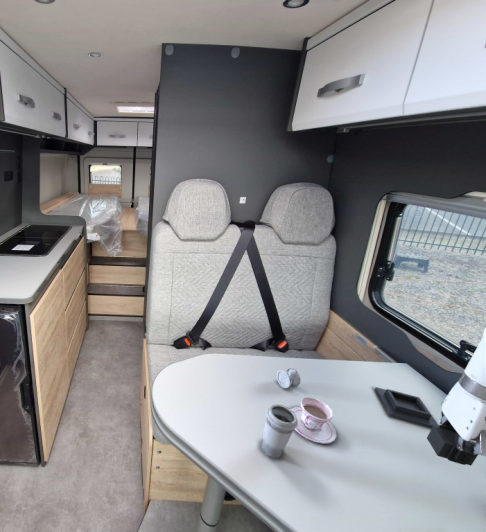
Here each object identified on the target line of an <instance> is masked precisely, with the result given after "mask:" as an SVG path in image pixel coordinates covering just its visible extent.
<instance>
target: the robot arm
mask: <svg viewBox="0 0 486 532" xmlns="http://www.w3.org/2000/svg"><path fill="white" fill-rule="evenodd" d="M440 407H441V412H440V414H441V418H440V419H439V420H438V421H439V423H438V425H439V428H443V429H447V430H450V431H454V432H458V434H459V435H460V436H459V440H458V443H457V446H455V445H454V446H453V447H452V449H451V451H450V452H449V454H448V456H447V458H446V459H447V460H448V461H450V462H452V463H456V464H459V465H463V466H466V465H467V462H468V461H469V459H470V458H471V456H472V455H473V454H475V455H476V454H478V456H479V455H480V456H483V457H486V328H485V329H484V330H483V333H482V337H481V340H480V341H479V343H478V345H477V346H476V349H475V350H474V353H473V354H472V356H471V358H470V360H469V361H468V363H467V365H466V367H465V368H464V370H463V372H462V374H461V376H460V378H459V379H458V381H457V382H456V383H455V384H454V385H453V386H452V388H451V389H450V391H449V392H448V394H447V395H446V397H445V398H444V400H443V401H441V402H440ZM466 441H469V442H471V446H468V445H465V443H466Z"/></svg>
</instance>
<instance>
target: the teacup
mask: <svg viewBox="0 0 486 532" xmlns="http://www.w3.org/2000/svg"><path fill="white" fill-rule="evenodd" d="M290 409H291V410H292V411H293V412H294V413H295V415H296V417H297V421H298V425H297V427H296V428H295V429H294V430H295V432H296V433H298V434H299V435H300V436H302V437H303V438H305V439H307V440H308V441H311V442H314V443H316V444H321V445H326V444H332V443H333V442H335V440H336V438H337V430H336V429H335V427H334V425H333V424H332V422H330V421H331V420H332V419H333V417H334V411H333V409H332V407H331V406H330V405H329V404H328V403H327V402H325V401H324V400H322V399H320V398H318V397H314V396H313V397H312V396H306V397H303V398H302V399H301V400H300V406H296V407H292V408H290ZM313 430H319V431H317V432H315V431H313Z"/></svg>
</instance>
